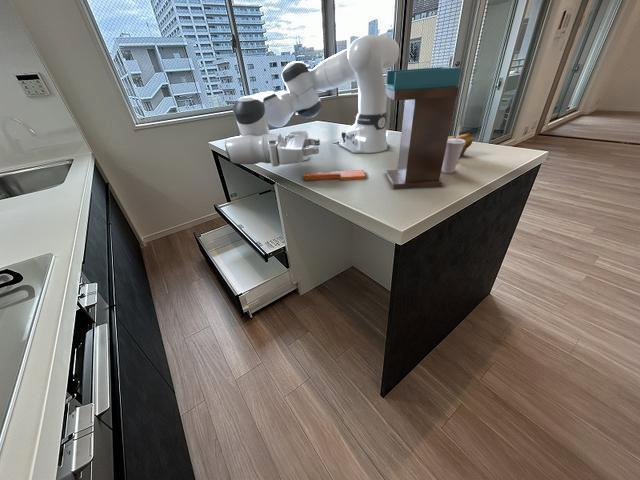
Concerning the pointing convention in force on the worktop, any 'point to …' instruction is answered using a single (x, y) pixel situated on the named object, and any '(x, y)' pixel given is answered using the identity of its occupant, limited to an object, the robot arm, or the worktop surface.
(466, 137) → the bread roll
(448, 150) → the smoothie
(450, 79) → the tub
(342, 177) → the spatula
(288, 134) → the white cup
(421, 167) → the stand
